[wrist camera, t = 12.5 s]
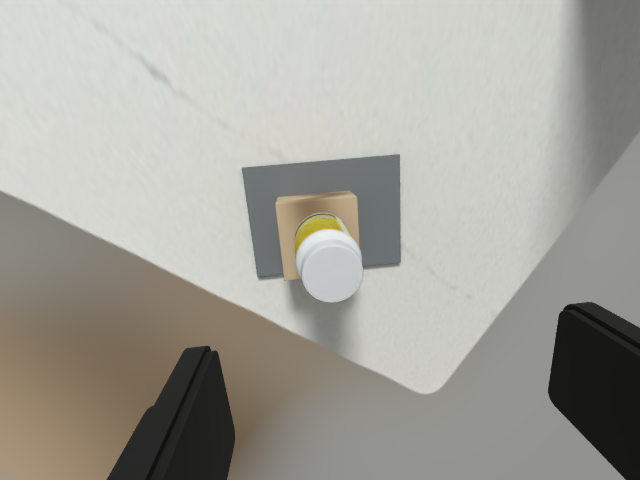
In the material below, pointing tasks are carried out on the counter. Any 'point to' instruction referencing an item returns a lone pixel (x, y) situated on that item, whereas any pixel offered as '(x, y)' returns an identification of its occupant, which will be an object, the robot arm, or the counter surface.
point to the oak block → (301, 207)
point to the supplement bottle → (327, 258)
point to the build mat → (323, 177)
